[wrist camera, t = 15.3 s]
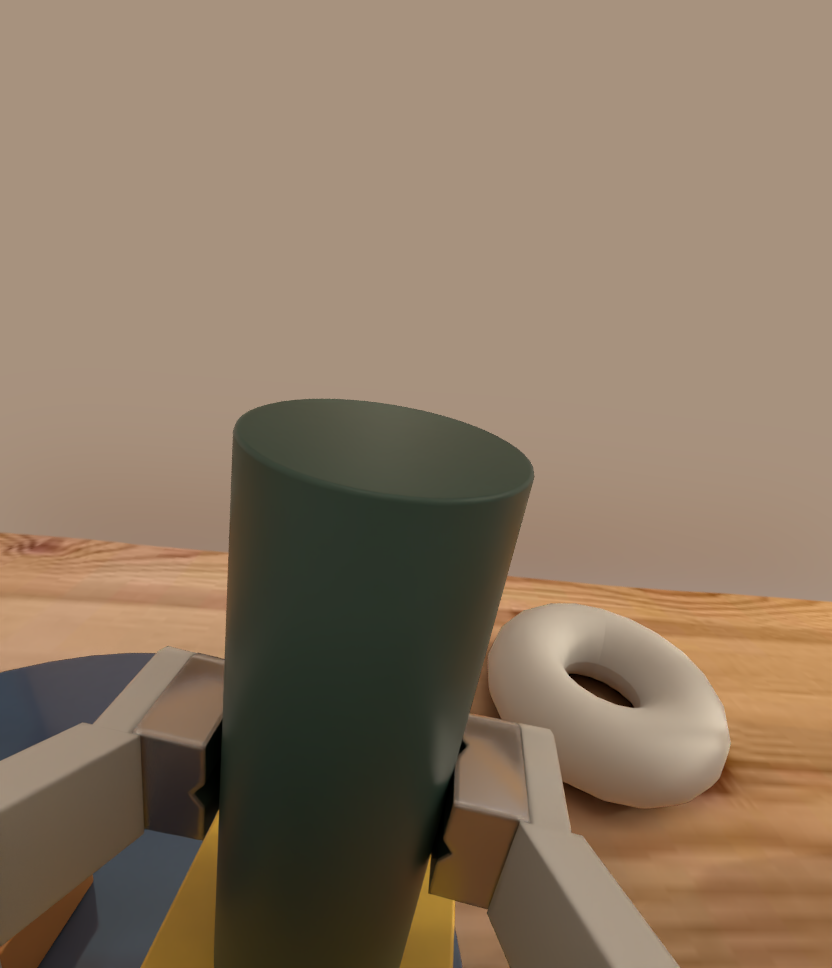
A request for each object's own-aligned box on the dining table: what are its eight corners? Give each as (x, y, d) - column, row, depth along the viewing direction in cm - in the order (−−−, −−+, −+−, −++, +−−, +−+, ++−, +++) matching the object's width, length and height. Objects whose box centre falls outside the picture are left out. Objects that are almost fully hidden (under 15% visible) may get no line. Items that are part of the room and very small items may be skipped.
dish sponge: (249, 818, 13) (281, 357, 9) (436, 861, 13) (564, 410, 9) (30, 1326, 7) (-252, 533, 2) (398, 1427, 7) (833, 767, 2)
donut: (506, 826, 18) (770, 836, 19) (529, 755, 16) (810, 770, 17) (464, 635, 27) (642, 650, 28) (476, 580, 25) (663, 597, 27)
